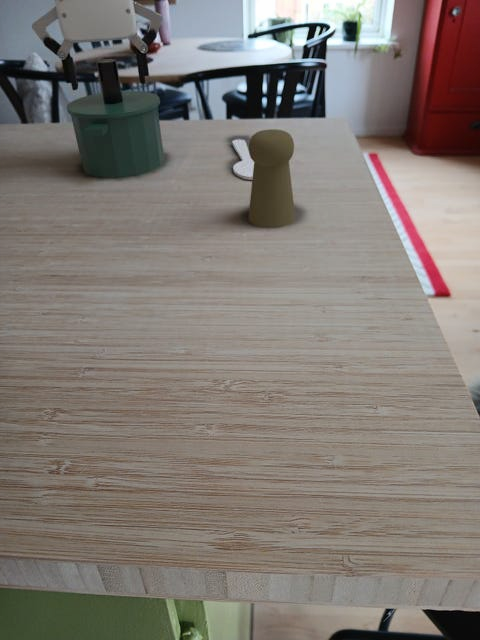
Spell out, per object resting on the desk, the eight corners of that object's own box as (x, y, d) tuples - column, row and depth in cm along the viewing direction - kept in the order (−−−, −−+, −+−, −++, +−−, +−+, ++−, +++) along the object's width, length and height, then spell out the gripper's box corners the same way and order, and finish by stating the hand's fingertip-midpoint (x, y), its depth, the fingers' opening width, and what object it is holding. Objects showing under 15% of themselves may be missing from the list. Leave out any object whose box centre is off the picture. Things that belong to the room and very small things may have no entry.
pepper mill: (260, 236, 61) (258, 143, 55) (240, 217, 66) (236, 129, 59) (304, 225, 63) (308, 134, 56) (282, 207, 68) (282, 121, 61)
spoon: (253, 140, 90) (253, 137, 90) (273, 178, 76) (273, 174, 75) (222, 143, 89) (222, 140, 89) (237, 181, 75) (236, 177, 75)
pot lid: (53, 123, 72) (40, 71, 68) (88, 99, 83) (78, 53, 79) (146, 123, 70) (138, 69, 66) (170, 98, 81) (164, 51, 77)
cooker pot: (65, 190, 76) (48, 124, 70) (106, 149, 90) (95, 92, 84) (147, 191, 74) (136, 123, 68) (176, 149, 88) (169, 90, 83)
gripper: (150, -64, 69) (166, 75, 79) (15, -58, 66) (50, 85, 76) (154, -65, 63) (171, 85, 73) (7, -59, 60) (45, 96, 70)
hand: (109, 85), depth 75 cm, fingers open, 9 cm apart
